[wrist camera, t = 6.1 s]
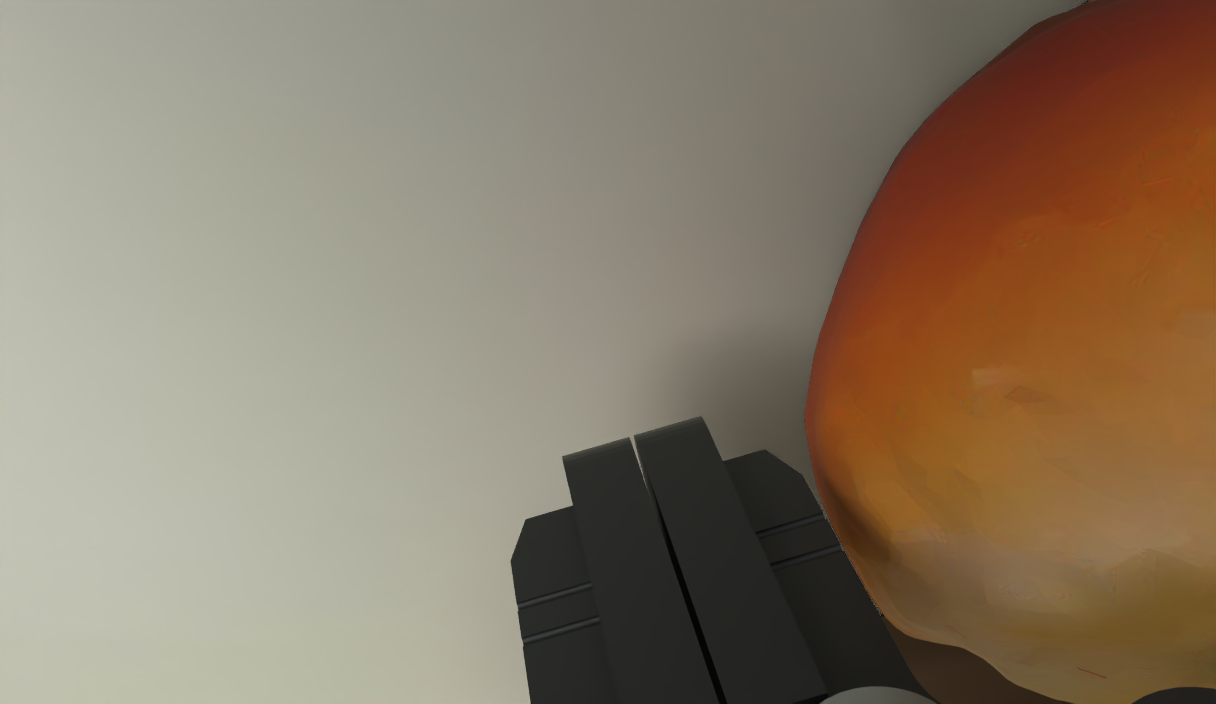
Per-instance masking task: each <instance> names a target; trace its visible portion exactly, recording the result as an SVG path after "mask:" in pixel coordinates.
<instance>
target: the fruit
mask: <svg viewBox="0 0 1216 704" xmlns="http://www.w3.org/2000/svg"><path fill="white" fill-rule="evenodd" d="M804 422H805V428H806V434H807V440H808V445H809V451H810V457H811V463H812V468H813V473H814V477H815V481H816V485H817V489H818V492H819V494H820V497H821V500H822V502H823V505H824V507H825V510H826V512H827V514H828V517H829V519H830V522H831V524H832V527H833V529H834V531H835V532H836V534H837V536H838V538H839V540H840V541H841V543H842V545H843V547H844V549H845V551H846V553H847V554H848V556H849V558H850V560H851V562H852V564H853V565H854V567H855V569H856V571H857V573H858V575H859V577H860V578H861V580H862V582H863V584H864V586H865V588H866V589H867V591H868V593H869V595H870V597H871V598H872V600H873V601H874V602H875V604H876V605H877V606H878V608H879V609H880V610H881V612H882V613H883V614H884V616H885V617H886V618H887V619H888V620H889V621H890V622H891V623H892V624H893V625H894V626H895V627H896V628H897V629H899V630H900V631H902V632H903V633H904V634H906V635H908V636H911V637H913V638H916V639H920V640H925V641H930V642H934V643H940V644H945V645H951V646H957V647H961V648H964V649H966V650H968V651H970V652H972V653H973V654H975V655H977V656H979V657H981V658H983V659H984V660H985V661H987V662H988V663H989V664H990V665H992V666H993V667H994V668H995V669H996V670H997V671H999V672H1000V673H1001V674H1002V675H1003V676H1004V677H1005V678H1006V679H1008V680H1009V681H1011V682H1013V683H1014V684H1016V685H1018V686H1021V687H1023V688H1026V689H1029V690H1031V691H1034V692H1037V693H1039V694H1042V695H1045V696H1047V697H1050V698H1053V699H1056V700H1061V701H1066V702H1070V703H1074V704H1132V703H1133V702H1135V701H1137V700H1138V699H1140V698H1142V697H1143V696H1146V695H1148V694H1151V693H1154V692H1157V691H1160V690H1165V689H1170V688H1176V687H1203V688H1214V689H1216V0H1089V1H1088V3H1085V4H1083V5H1081V6H1078V7H1076V8H1074V9H1072V10H1070V11H1067V12H1065V13H1062V14H1059V15H1056V16H1053V17H1050V18H1048V19H1046V20H1044V21H1042V22H1040V23H1038V24H1036V25H1034V26H1033V27H1031V28H1030V29H1029V30H1028V31H1026V32H1025V33H1024V34H1023V35H1022V36H1020V37H1019V38H1018V39H1017V40H1015V41H1014V42H1013V43H1012V44H1011V45H1010V46H1008V47H1007V48H1006V49H1005V50H1004V51H1002V52H1001V53H1000V54H999V55H998V56H997V57H995V58H994V59H993V60H992V61H991V62H990V63H988V64H987V65H986V66H985V67H984V68H982V69H981V70H980V71H979V72H978V73H976V74H975V75H974V76H973V77H972V78H970V79H969V80H968V81H967V82H966V83H965V84H963V85H962V86H961V87H960V88H959V89H958V90H957V91H956V92H954V93H953V94H952V95H951V96H950V97H949V98H948V99H947V100H945V101H944V102H943V103H942V104H941V105H940V106H939V107H938V108H937V109H936V110H935V111H934V112H933V113H932V114H931V115H930V116H929V117H928V118H927V119H926V120H925V121H924V123H923V124H922V125H921V126H920V127H919V129H918V130H917V131H916V132H915V133H914V135H913V136H912V137H911V138H910V140H909V141H908V142H907V143H906V144H905V146H904V147H903V149H902V150H901V151H900V153H899V154H898V156H897V157H896V159H895V161H894V162H893V164H892V166H891V168H890V170H889V172H888V173H887V175H886V177H885V179H884V181H883V183H882V185H881V186H880V188H879V190H878V192H877V194H876V196H875V197H874V199H873V201H872V203H871V205H870V207H869V209H868V211H867V213H866V215H865V217H864V219H863V221H862V223H861V225H860V227H859V230H858V232H857V235H856V237H855V240H854V242H853V245H852V247H851V250H850V252H849V255H848V257H847V260H846V263H845V265H844V268H843V270H842V273H841V275H840V278H839V280H838V283H837V285H836V288H835V291H834V294H833V297H832V300H831V303H830V306H829V309H828V312H827V315H826V318H825V320H824V323H823V326H822V329H821V332H820V335H819V338H818V342H817V346H816V350H815V354H814V359H813V365H812V371H811V377H810V383H809V390H808V396H807V402H806V408H805V418H804Z"/></svg>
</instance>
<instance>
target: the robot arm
mask: <svg viewBox="0 0 1216 704" xmlns="http://www.w3.org/2000/svg"><path fill="white" fill-rule="evenodd" d="M634 439H635V444H636V448H637V452H638V456H639V460H640V464H641V468H642V472H643V476H644V479H645V482H644V479H643V476H642V473H641V470H640V467H639V464H638V461H637V458H636V455H635V452H634V449H633V446H632V443H631V441H630V438H629V437H628V438H624V439H621V440H617V441H614V442H611V443H607V444H604V445H600V446H597V447H593V448H590V449H586V450H583V451H579V452H576V453H573V454H569V455H566V456H562V458H563V464H564V468H565V472H566V477H567V481H568V485H569V489H570V494H571V498H572V502H573V506H570V507H566V508H563V509H560V510H556V511H553V512H549V513H546V514H542V515H539V516H536V517H532V518H529V519H526V520H525V523H524V525H523V528H522V531H521V534H520V536H519V539H518V542H517V545H516V548H515V550H514V553H513V556H512V559H511V567H512V574H513V581H514V588H515V595H516V602H517V606H518V610H519V611H518V616H519V623H520V630H521V637H522V641H523V645H524V646H523V651H524V658H525V665H526V672H527V680H528V687H529V694H530V701H531V704H941V703H939V702H938V701H937V700H936V699H935V698H933V697H932V696H931V695H930V694H929V693H928V692H927V691H926V690H925V689H924V688H923V687H922V686H921V685H920V684H919V682H918V681H917V680H916V678H915V677H914V675H913V674H912V672H911V671H910V669H909V667H908V666H907V664H906V662H905V660H904V658H903V657H902V655H901V653H900V651H899V649H898V647H897V646H896V644H895V642H894V640H893V638H892V637H891V635H890V633H889V631H888V629H887V628H886V626H885V624H884V622H883V620H882V619H881V617H880V615H879V613H878V611H877V610H876V608H875V606H874V604H873V602H872V601H871V599H870V597H869V595H868V593H867V591H866V590H865V588H864V586H863V584H862V582H861V581H860V579H859V577H858V575H857V573H856V572H855V570H854V568H853V566H852V564H851V563H850V561H849V559H848V557H847V555H846V554H845V552H844V551H842V549H841V547H840V543H839V541H838V539H837V537H836V535H835V534H834V532H833V530H832V528H831V526H830V525H829V523H828V521H827V520H825V519H824V516H823V512H822V510H821V508H820V507H819V505H818V503H817V501H816V499H815V498H814V496H813V494H812V492H811V490H810V489H809V487H808V485H807V483H806V481H805V479H804V478H803V476H802V475H801V474H800V473H798V472H797V471H795V470H794V469H792V468H791V467H790V466H788V465H787V464H785V463H784V462H782V461H781V460H780V459H778V458H777V457H775V456H774V455H772V454H771V453H770V452H768V451H767V450H765V449H764V450H761V451H758V452H754V453H751V454H747V455H744V456H740V457H737V458H734V459H730V460H727V461H722V459H721V457H720V454H719V452H718V450H717V448H716V446H715V443H714V441H713V439H712V437H711V435H710V432H709V430H708V428H707V426H706V424H705V422H704V420H703V418H702V417H701V416H699V417H696V418H693V419H689V420H686V421H682V422H679V423H675V424H672V425H668V426H665V427H661V428H658V429H655V430H651V431H648V432H644V433H641V434H637V435H634ZM645 483H646V485H645ZM646 487H647V488H646ZM1132 704H1216V689H1214V688H1203V687H1176V688H1170V689H1165V690H1160V691H1157V692H1154V693H1151V694H1148V695H1146V696H1143V697H1142V698H1140V699H1138V700H1137V701H1135V702H1133V703H1132Z"/></svg>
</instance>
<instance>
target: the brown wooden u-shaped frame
mask: <svg viewBox="0 0 1216 704" xmlns="http://www.w3.org/2000/svg"><path fill="white" fill-rule="evenodd" d="M881 619H882V620H883V622H884V624H885V626H886V628H887V629H888V631H889V633H890V635H891V637H892V638H893V640H894V642H895V644H896V646H897V647H898V649H899V651H900V653H901V655H902V657H903V658H904V660H905V662H906V664H907V666H908V667H909V669H910V671H911V672H912V674H913V675H914V677H915V678H916V680H917V681H918V682H919V684H920V685H921V686H922V687H923V688H924V689H925V690H926V691H927V692H928V693H929V694H930V695H931V696H932V697H933V698H935V699H936V700H937V701H938V702H939V703H941V704H1074V703H1070V702H1066V701H1061V700H1056V699H1053V698H1050V697H1047V696H1045V695H1042V694H1039V693H1037V692H1034V691H1031V690H1029V689H1026V688H1023V687H1021V686H1018V685H1016V684H1014V683H1013V682H1011V681H1009V680H1008V679H1006V678H1005V677H1004V676H1003V675H1002V674H1001V673H1000V672H999V671H997V670H996V669H995V668H994V667H993V666H992V665H990V664H989V663H988V662H987V661H985V660H984V659H983V658H981V657H979V656H977V655H975V654H973V653H972V652H970V651H968V650H966V649H964V648H961V647H957V646H951V645H945V644H940V643H934V642H930V641H925V640H920V639H916V638H913V637H911V636H908V635H906V634H904V633H903V632H902V631H900V630H899V629H897V628H896V627H895V626H894V625H893V624H892V623H891V622H890V621H889V620H888V619H887V618H886V617H885V616H883V617H881Z"/></svg>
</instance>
